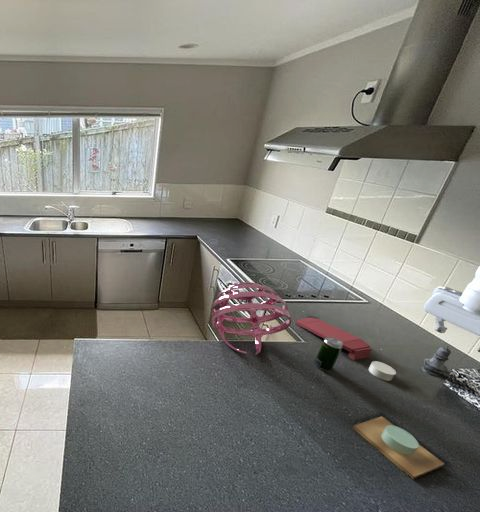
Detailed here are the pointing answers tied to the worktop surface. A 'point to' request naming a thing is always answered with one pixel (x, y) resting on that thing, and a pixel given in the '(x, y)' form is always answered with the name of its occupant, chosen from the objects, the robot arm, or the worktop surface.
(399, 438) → the mint green round lid
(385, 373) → the white round disc
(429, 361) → the grey chess piece
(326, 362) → the beer can
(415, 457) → the oak board
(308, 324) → the red long block
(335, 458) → the worktop surface
